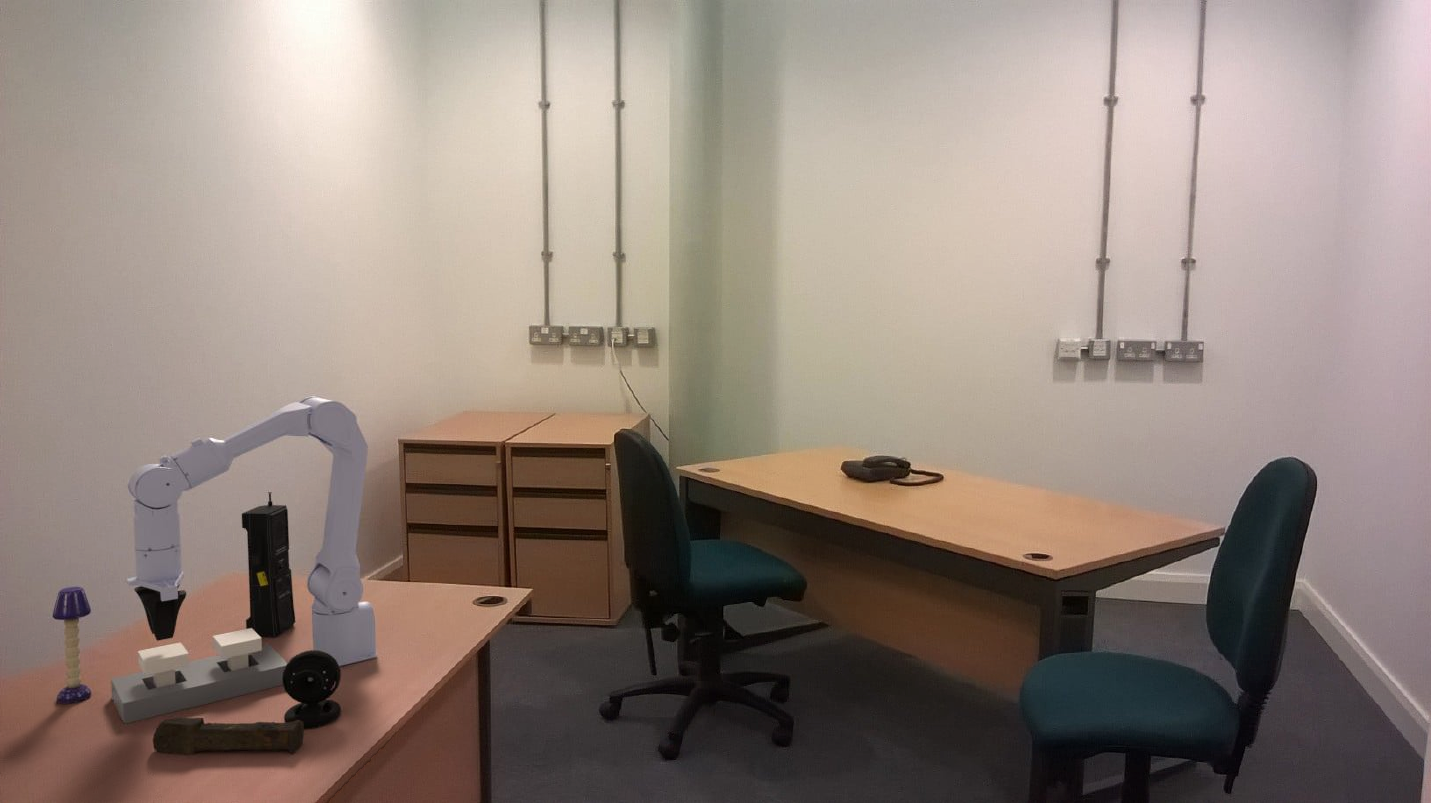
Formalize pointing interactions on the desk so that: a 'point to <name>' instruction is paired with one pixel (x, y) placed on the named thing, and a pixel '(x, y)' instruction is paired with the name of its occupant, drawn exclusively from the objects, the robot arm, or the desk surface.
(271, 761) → the desk surface
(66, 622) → the toy lamp
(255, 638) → the cap
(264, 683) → the panel
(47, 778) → the desk surface
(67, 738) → the desk surface
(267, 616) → the portable radio
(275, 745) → the hand tool
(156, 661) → the cap
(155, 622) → the robot arm
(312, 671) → the webcam
